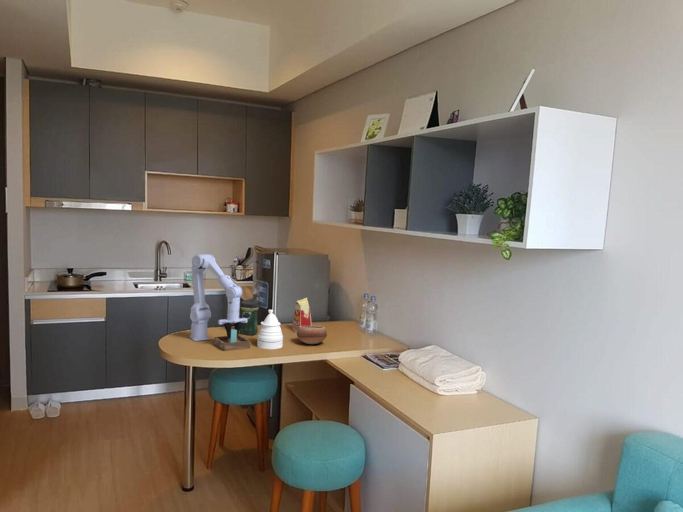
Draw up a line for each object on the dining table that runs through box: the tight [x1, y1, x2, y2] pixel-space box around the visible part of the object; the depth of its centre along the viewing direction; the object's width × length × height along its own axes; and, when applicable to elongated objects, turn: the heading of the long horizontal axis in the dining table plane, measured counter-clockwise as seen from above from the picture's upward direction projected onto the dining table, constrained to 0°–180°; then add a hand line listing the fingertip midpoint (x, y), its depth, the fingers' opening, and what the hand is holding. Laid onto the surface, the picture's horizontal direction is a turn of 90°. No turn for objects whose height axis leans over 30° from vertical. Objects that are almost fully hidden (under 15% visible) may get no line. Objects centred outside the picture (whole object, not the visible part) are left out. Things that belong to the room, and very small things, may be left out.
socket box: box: [213, 334, 251, 352], centre depth 262 cm, size 14×14×4 cm
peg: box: [228, 328, 237, 343], centre depth 262 cm, size 3×3×7 cm
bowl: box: [296, 325, 328, 345], centre depth 276 cm, size 16×16×10 cm
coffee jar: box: [239, 299, 260, 336], centre depth 289 cm, size 10×8×19 cm
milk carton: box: [292, 297, 312, 334], centre depth 301 cm, size 9×9×20 cm
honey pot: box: [256, 309, 284, 350], centre depth 267 cm, size 13×13×18 cm
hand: (232, 337), depth 262 cm, fingers closed on peg, 3 cm apart
